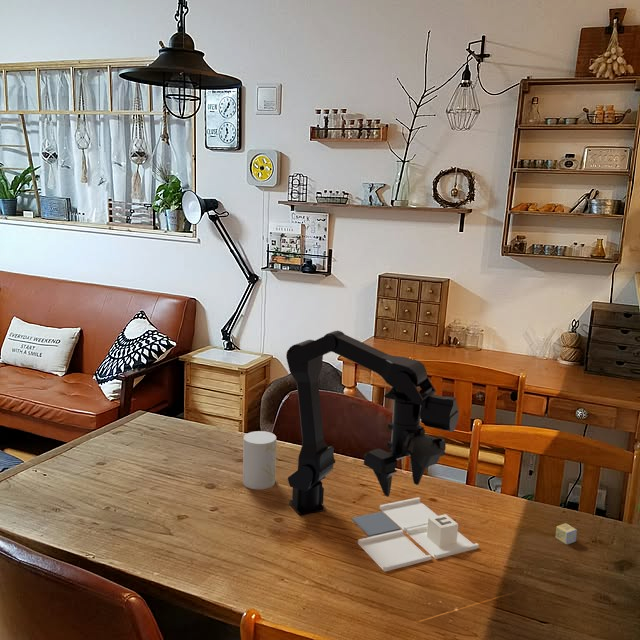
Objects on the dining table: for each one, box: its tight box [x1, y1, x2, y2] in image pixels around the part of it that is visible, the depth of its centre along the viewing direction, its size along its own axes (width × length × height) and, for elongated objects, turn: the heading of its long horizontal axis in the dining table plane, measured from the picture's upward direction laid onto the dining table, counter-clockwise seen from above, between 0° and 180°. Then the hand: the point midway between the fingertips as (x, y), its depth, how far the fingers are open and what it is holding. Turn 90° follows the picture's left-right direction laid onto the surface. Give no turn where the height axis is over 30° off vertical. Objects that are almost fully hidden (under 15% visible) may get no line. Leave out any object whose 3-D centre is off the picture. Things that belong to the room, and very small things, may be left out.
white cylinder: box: [242, 430, 277, 490], centre depth 161 cm, size 8×8×12 cm
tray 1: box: [379, 496, 439, 533], centre depth 148 cm, size 11×11×1 cm
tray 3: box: [405, 524, 480, 560], centre depth 138 cm, size 11×11×1 cm
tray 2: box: [357, 529, 432, 572], centre depth 133 cm, size 11×11×1 cm
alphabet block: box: [555, 523, 578, 545], centre depth 141 cm, size 3×3×3 cm
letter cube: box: [427, 513, 459, 548], centre depth 138 cm, size 4×4×5 cm
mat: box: [350, 510, 401, 537], centre depth 144 cm, size 8×8×1 cm
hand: (401, 489), depth 137 cm, fingers open, 9 cm apart
